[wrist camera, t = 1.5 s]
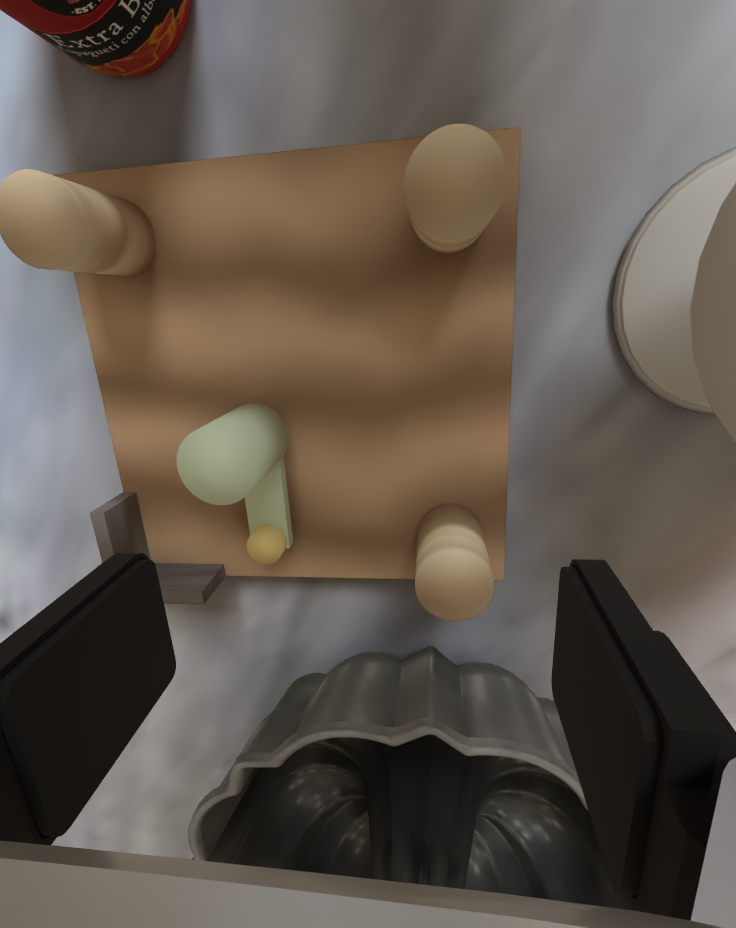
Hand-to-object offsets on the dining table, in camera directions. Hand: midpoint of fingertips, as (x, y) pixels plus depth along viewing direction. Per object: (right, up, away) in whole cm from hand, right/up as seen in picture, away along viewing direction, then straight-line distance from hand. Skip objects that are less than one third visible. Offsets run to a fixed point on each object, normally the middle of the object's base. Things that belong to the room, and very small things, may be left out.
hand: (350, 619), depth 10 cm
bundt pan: (+4, -18, +25) cm, 31 cm away
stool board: (-3, +8, +17) cm, 19 cm away
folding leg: (-5, +2, +17) cm, 18 cm away
